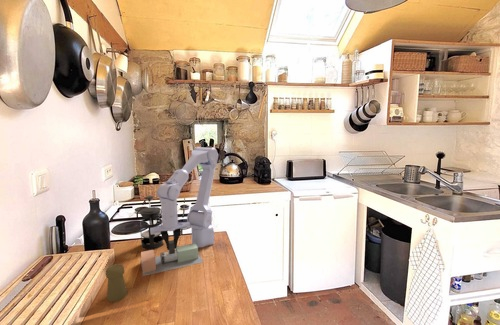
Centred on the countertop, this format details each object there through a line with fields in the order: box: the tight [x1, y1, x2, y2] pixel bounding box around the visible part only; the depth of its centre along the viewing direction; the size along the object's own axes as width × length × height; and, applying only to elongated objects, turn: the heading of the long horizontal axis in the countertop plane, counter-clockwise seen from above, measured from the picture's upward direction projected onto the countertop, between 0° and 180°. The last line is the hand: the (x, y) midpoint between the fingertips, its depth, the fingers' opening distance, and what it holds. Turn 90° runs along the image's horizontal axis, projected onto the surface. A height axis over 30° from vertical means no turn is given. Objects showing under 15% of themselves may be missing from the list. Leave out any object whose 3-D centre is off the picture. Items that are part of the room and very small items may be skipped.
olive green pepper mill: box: [105, 263, 128, 303], centre depth 85 cm, size 6×6×11 cm
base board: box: [140, 252, 204, 277], centre depth 106 cm, size 22×12×1 cm, turn 115°
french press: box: [138, 195, 164, 251], centre depth 118 cm, size 12×9×23 cm
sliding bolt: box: [159, 239, 178, 263], centre depth 106 cm, size 14×3×7 cm, turn 115°
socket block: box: [140, 249, 156, 273], centre depth 102 cm, size 4×8×4 cm, turn 25°
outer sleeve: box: [175, 243, 199, 262], centre depth 108 cm, size 8×4×4 cm, turn 115°
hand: (171, 248), depth 105 cm, fingers closed on sliding bolt, 2 cm apart
